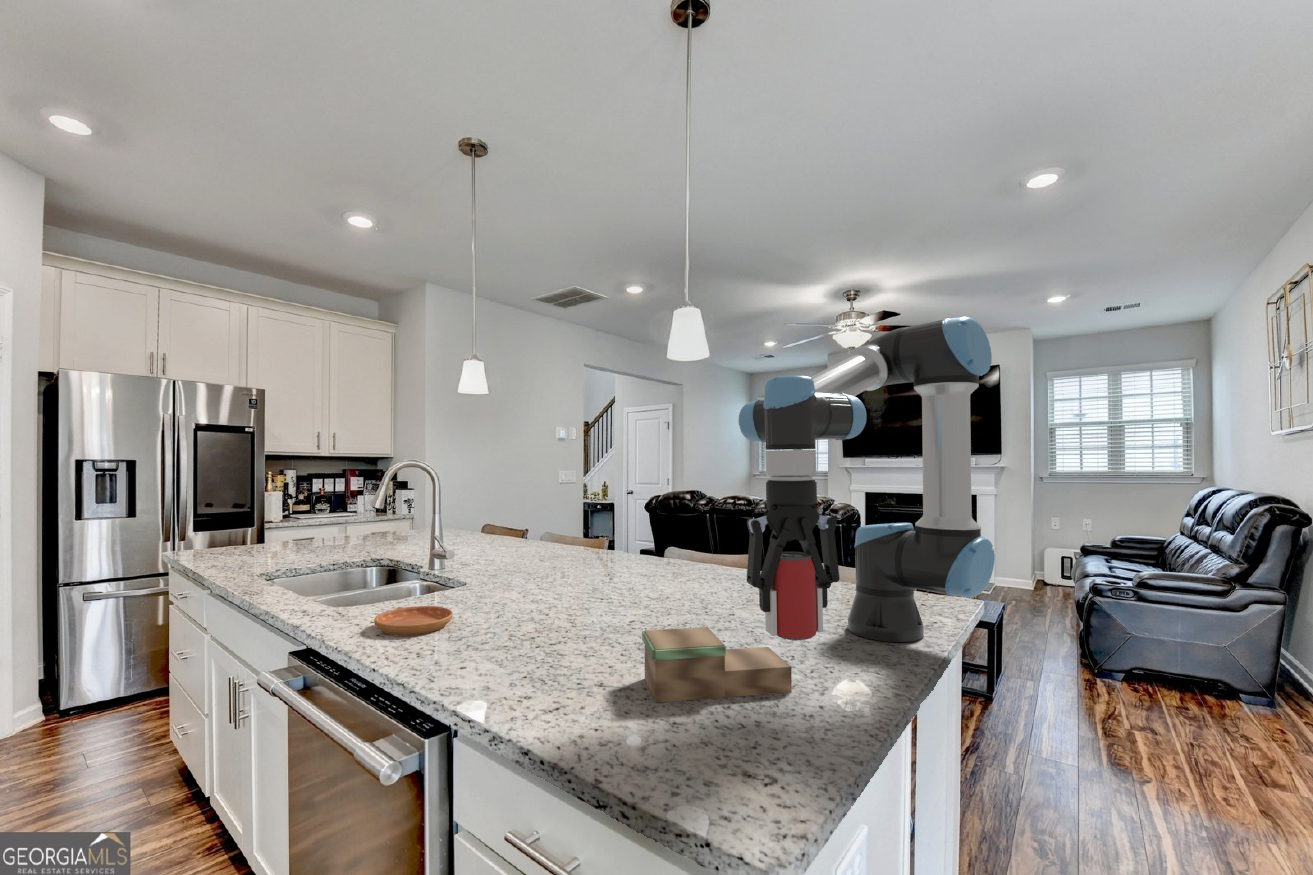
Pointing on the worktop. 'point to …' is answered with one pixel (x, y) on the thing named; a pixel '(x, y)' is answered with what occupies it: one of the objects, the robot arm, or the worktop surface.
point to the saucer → (413, 620)
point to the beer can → (795, 596)
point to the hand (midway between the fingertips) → (794, 631)
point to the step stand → (709, 667)
